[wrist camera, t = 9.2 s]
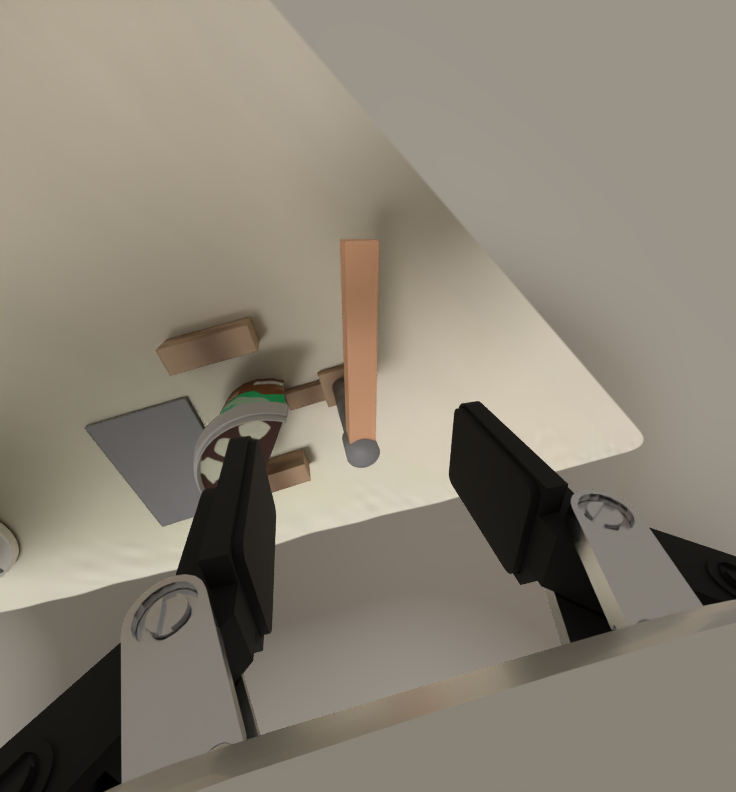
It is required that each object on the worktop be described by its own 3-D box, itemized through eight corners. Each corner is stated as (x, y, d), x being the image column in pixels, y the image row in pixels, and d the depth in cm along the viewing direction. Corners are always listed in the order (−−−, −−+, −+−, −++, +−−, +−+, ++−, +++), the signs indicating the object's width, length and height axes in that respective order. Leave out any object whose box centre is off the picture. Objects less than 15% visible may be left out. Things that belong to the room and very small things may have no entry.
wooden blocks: (245, 484, 41) (233, 559, 32) (166, 339, 32) (117, 387, 22) (374, 443, 42) (398, 504, 33) (334, 293, 33) (353, 321, 24)
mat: (163, 523, 41) (162, 526, 41) (86, 425, 34) (84, 428, 33) (244, 498, 42) (243, 500, 41) (186, 396, 34) (185, 398, 34)
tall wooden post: (334, 239, 21) (340, 241, 19) (375, 239, 21) (385, 241, 19) (342, 451, 28) (347, 469, 26) (372, 447, 29) (379, 465, 27)
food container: (227, 350, 33) (205, 396, 24) (288, 368, 35) (288, 416, 27) (200, 449, 38) (174, 518, 29) (256, 460, 40) (247, 526, 31)
